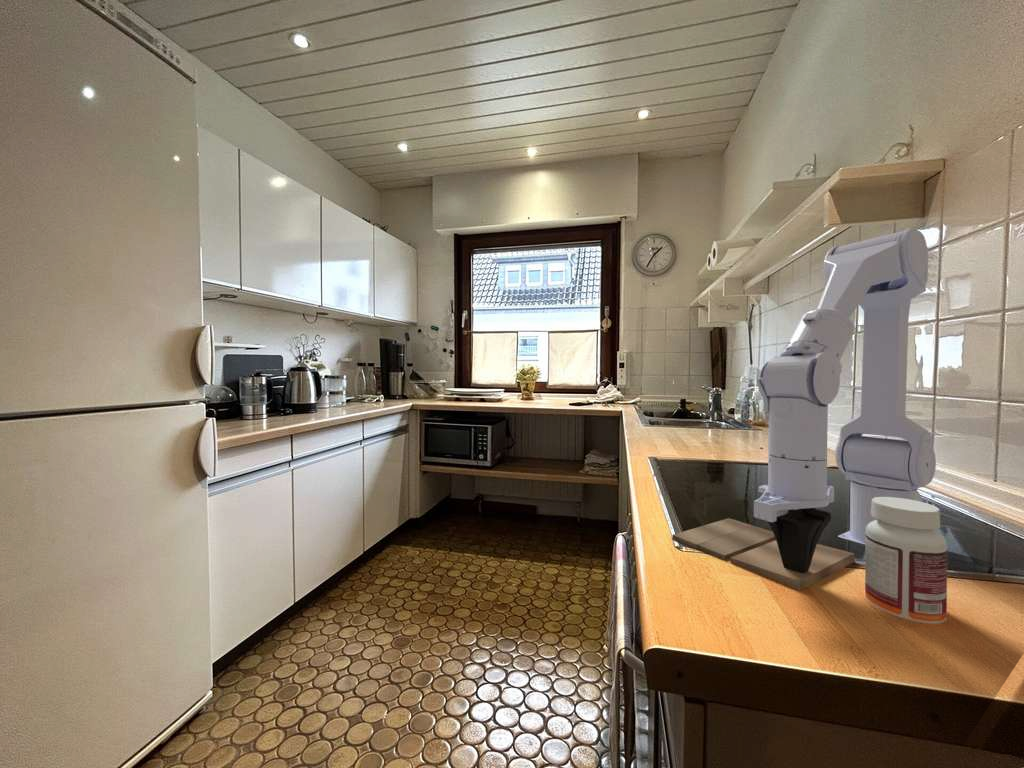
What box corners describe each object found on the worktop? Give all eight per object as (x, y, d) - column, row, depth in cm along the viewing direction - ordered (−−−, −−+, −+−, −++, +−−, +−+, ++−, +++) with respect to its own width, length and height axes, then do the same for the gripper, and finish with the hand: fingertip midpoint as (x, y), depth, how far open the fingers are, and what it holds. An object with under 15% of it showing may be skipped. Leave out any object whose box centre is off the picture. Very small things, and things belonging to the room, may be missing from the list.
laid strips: (728, 525, 67) (728, 518, 67) (785, 543, 60) (785, 535, 60) (672, 542, 60) (672, 534, 60) (728, 566, 53) (729, 557, 53)
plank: (787, 544, 59) (786, 536, 60) (854, 562, 53) (854, 553, 53) (730, 567, 52) (730, 557, 52) (799, 591, 45) (799, 580, 46)
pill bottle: (945, 611, 42) (947, 503, 42) (947, 637, 38) (949, 518, 38) (867, 589, 47) (868, 491, 47) (861, 611, 43) (862, 503, 42)
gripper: (791, 446, 55) (790, 545, 56) (728, 456, 48) (727, 570, 48) (855, 454, 49) (853, 565, 50) (793, 468, 42) (792, 598, 42)
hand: (795, 569), depth 49 cm, fingers closed, pressing on plank
